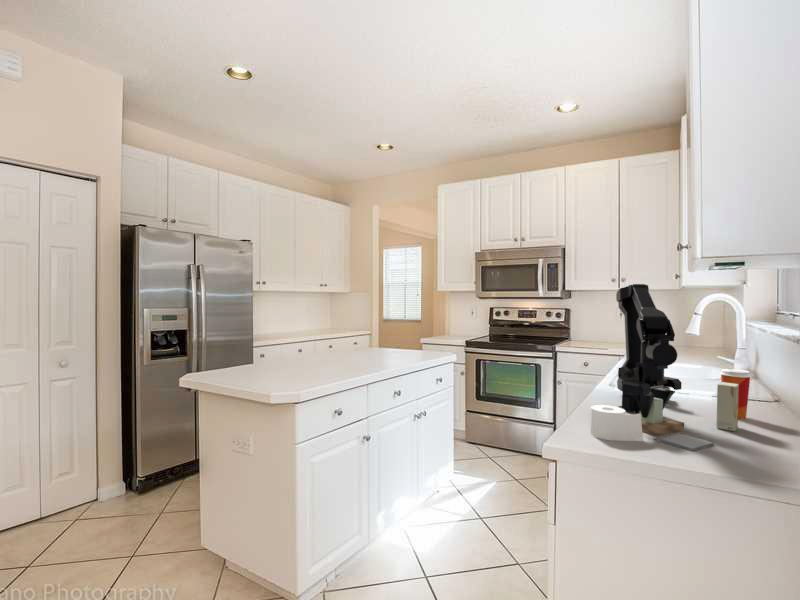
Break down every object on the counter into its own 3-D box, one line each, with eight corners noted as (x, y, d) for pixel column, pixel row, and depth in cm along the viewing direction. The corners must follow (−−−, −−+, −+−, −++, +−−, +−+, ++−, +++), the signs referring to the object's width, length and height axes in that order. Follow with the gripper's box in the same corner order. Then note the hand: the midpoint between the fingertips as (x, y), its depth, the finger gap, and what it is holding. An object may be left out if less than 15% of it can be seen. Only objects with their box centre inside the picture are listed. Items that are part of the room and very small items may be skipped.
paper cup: (714, 412, 141) (715, 367, 141) (741, 413, 139) (743, 369, 139) (726, 419, 133) (727, 372, 133) (756, 421, 132) (757, 373, 131)
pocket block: (643, 419, 132) (643, 412, 132) (684, 430, 122) (684, 422, 122) (618, 424, 127) (618, 417, 126) (659, 436, 116) (659, 428, 116)
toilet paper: (643, 441, 112) (643, 413, 112) (597, 440, 113) (597, 412, 113) (628, 431, 121) (628, 405, 121) (585, 430, 121) (586, 404, 121)
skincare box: (735, 432, 121) (736, 386, 121) (715, 428, 124) (716, 384, 124) (738, 426, 126) (739, 383, 125) (719, 423, 129) (720, 381, 128)
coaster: (675, 434, 118) (675, 432, 118) (713, 445, 110) (713, 442, 110) (655, 439, 114) (655, 437, 114) (692, 451, 106) (692, 448, 106)
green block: (648, 424, 127) (648, 396, 127) (662, 428, 123) (663, 399, 123) (639, 426, 125) (640, 397, 125) (653, 430, 122) (654, 401, 121)
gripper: (644, 354, 136) (643, 405, 136) (604, 358, 126) (603, 413, 127) (683, 359, 126) (681, 415, 126) (642, 364, 117) (641, 423, 117)
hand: (651, 416), depth 124 cm, fingers open, 6 cm apart
